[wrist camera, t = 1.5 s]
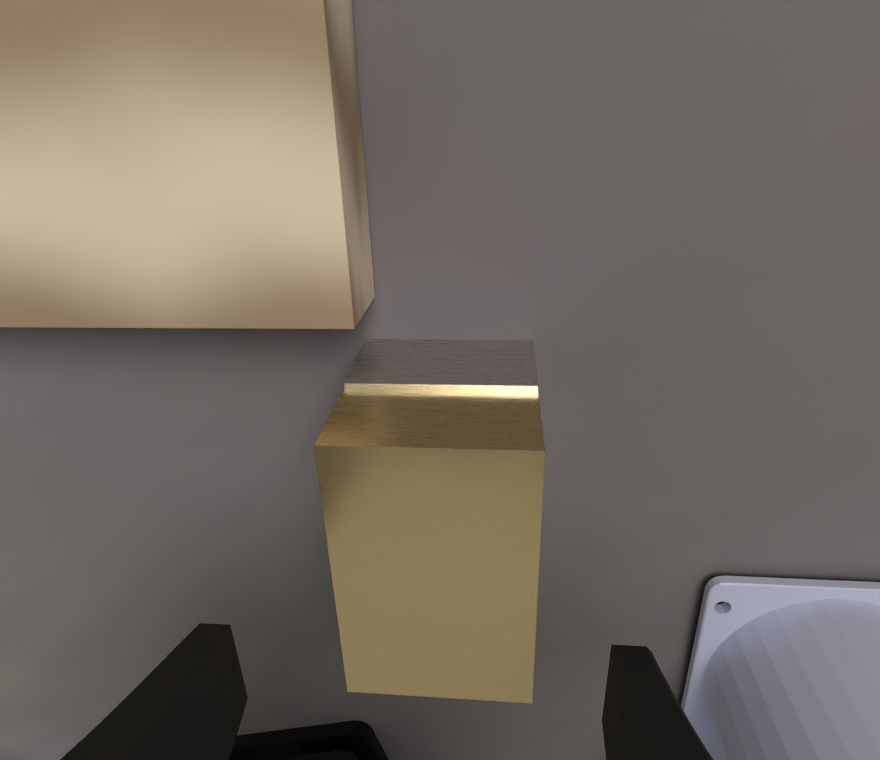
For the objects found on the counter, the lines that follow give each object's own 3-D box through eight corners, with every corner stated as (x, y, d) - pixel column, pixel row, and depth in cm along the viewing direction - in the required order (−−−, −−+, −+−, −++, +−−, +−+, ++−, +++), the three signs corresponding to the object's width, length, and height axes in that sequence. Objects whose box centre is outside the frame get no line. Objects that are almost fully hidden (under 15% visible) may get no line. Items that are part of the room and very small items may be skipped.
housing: (524, 552, 20) (531, 707, 15) (386, 547, 20) (348, 695, 15) (532, 339, 17) (545, 444, 12) (368, 337, 17) (313, 438, 12)
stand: (374, 296, 17) (354, 329, 14) (-31, 296, 18) (-109, 326, 16) (326, -317, 11) (284, -416, 9) (-238, -260, 13) (-398, -335, 10)
